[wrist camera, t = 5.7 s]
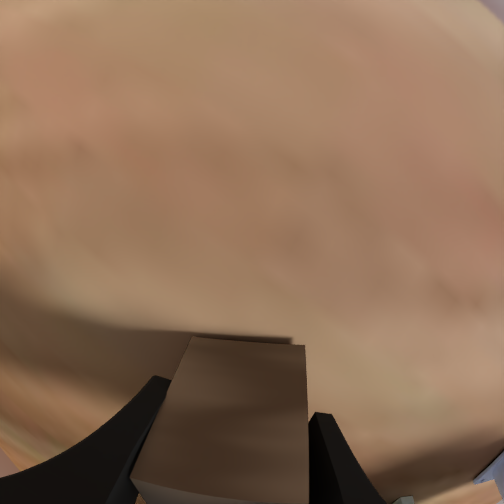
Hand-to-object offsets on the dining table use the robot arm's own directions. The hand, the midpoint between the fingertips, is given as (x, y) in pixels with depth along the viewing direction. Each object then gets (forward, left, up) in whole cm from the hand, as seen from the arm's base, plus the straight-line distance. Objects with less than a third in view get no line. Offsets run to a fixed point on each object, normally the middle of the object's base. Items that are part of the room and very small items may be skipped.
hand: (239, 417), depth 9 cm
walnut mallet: (-2, +8, -2) cm, 8 cm away
